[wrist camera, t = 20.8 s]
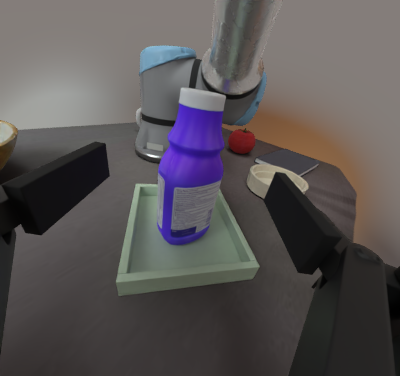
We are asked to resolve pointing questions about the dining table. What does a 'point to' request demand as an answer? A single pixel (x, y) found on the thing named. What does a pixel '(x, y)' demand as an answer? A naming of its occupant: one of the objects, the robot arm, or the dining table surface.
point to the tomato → (241, 141)
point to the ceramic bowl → (270, 178)
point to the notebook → (289, 161)
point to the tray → (180, 251)
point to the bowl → (7, 141)
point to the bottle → (191, 167)
